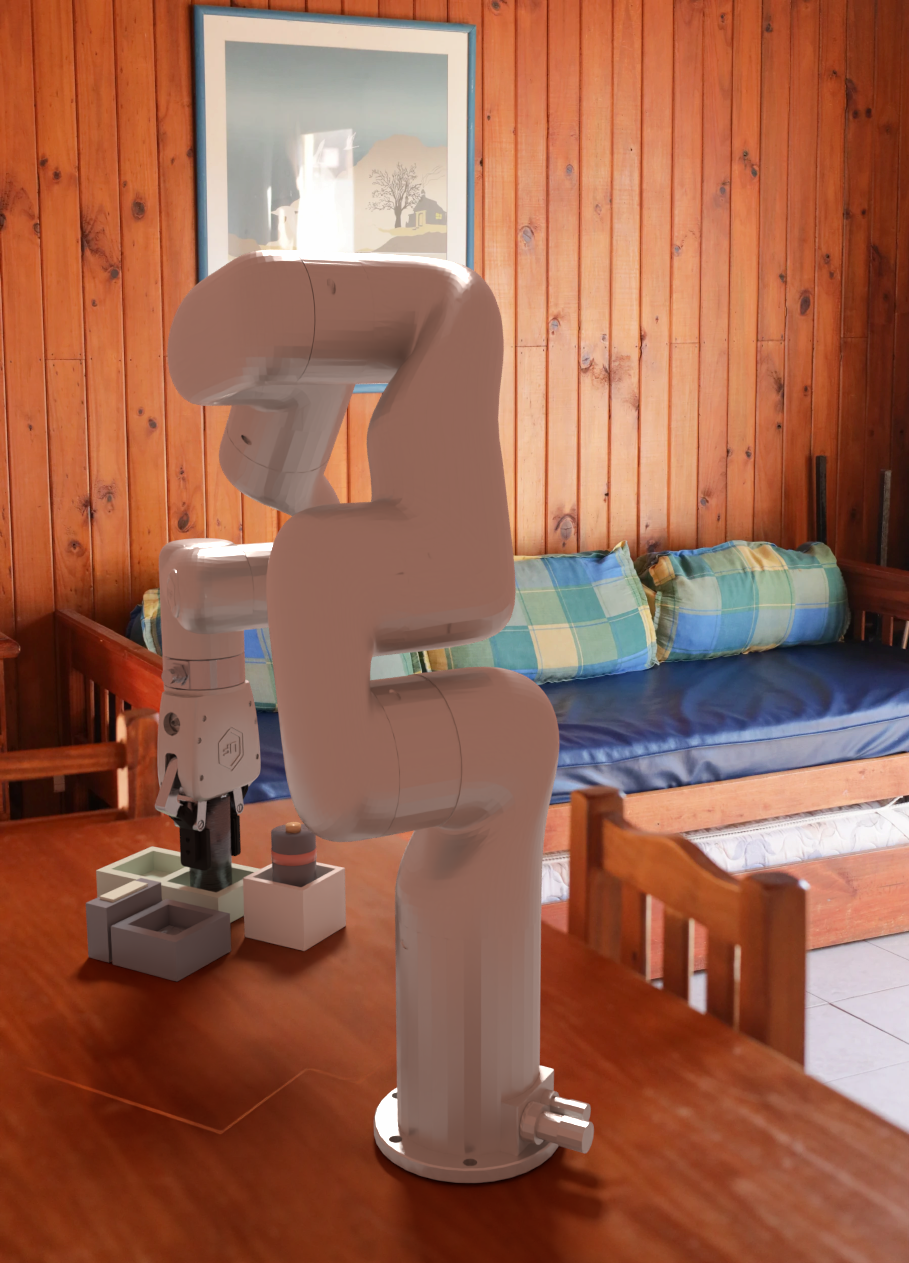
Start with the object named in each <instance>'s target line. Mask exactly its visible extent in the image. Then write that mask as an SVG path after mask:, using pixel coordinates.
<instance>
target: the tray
mask: <svg viewBox="0 0 909 1263" xmlns="http://www.w3.org/2000/svg"><path fill="white" fill-rule="evenodd" d="M260 869H261V868H257V867H252V866H248V865H244V864H238V863H235V862H232V885H230V886H228V887H226V888H224V889H222V890H220V891H218V892H212V891H207V890H203V889H198V888H194V887H190V872H189V867H185V866H183V865H182V864H181V857H180V851H176V850H172V849H167V848H164V847H163V848H162V847H157V846H149V847H147V848H146V849H145V848H144V849H142V850H139V851H138V852H135V853H133V854H131V855H129V856H127V857H123V858H122V859H119V860H117V861H115V862H112V863H110V864H108V865H105V866H103V867H101V868H99V869H96V870H95V876H96V898H98V897H100V896H101V895H103V894H106V893H108V892H110V891H112V890H114V889H117V888H119V887H121V886H123V885H125V884H128V883H130V882H132V881H135V880H137V879H140V878H144V879H148V880H153V881H157V882H161V890H162V901H163V900H165V899H170V900H174V901H178V902H183V903H187V904H191V905H196V906H200V907H204V908H209V909H213V910H217V911H222V912H226V913H230V924H231V923H233V922H234V921H236V920H238V919H240V918H242V917H244V896H243V878H244V877H246V876H248V875H250V874H252V873H254V872H256V871H258V870H260Z"/></svg>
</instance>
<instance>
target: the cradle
mask: <svg viewBox="0 0 909 1263" xmlns="http://www.w3.org/2000/svg"><path fill="white" fill-rule="evenodd" d="M85 918H86V920H85V921H86V933H87V934H86V935H87V937H86V938H87V950H88V951H87V953H88V954H87V955H88V956H87V957H88V958H90V959H94V960H98V961H101V962H104V963H105V962H106V963H108V964H109V963H112V965H113V966H117V967H122V968H124V969H128V970H133V971H136V972H139V973H143V974H147V975H151V976H155V977H159V978H161V979H166V980H170V981H173V982H176V983H177V982H179V981H181V980H183V979H184V978H187V977H188V976H189V975H192V974H193V973H195V972H197V971H199V970H200V969H202V968H203V967H205V966H207V965H209V964H211V963H212V962H215V961H216V960H217V959H218V960H219V958H221V957H223V956H225V955H227V954H228V953H230V952H232V938H231V937H232V936H231V923H230V913H226V912H222V911H217V910H213V909H209V908H204V907H200V906H196V905H191V904H187V903H183V902H178V901H174V900H170V899H165V900H163V901H162V890H161V882H157V881H153V880H148V879H144V878H140V879H137V880H135V881H132V882H130V883H128V884H125V885H123V886H121V887H119V888H117V889H114V890H112V891H110V892H108V893H106V894H103V895H101V896H100V897H98V898H97V897H95V898H94V899H91V900H89V901H87V902H85ZM169 925H170V926H175V927H179V928H183V929H186V930H184V931H182V932H180V933H179V934H177V935H175V936H173V935H169V934H165V933H161V932H157V931H159V930H161V929H163V928H165V927H167V926H169Z"/></svg>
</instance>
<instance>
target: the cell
mask: <svg viewBox="0 0 909 1263" xmlns="http://www.w3.org/2000/svg"><path fill="white" fill-rule="evenodd" d="M188 808H189V809H190V810H191V811H192V812H193V810H194V803H191V802H188ZM204 828H208V829H209V830H210V849H211V867H210V869H208V870H206V871H203V870H199V869H194V868H189V872H190V887H194V888H198V889H203V890H207V891H212V892H218V891H220V890H222V889H224V888H226V887H228V886H230V885H232V863H233V860H232V859H233V856H232V854H231V820H230V795H229V794H228V793H225V794H223V795H220V796H218V797H215V798H213V799H210V800H207V804H206V818H205V827H204Z"/></svg>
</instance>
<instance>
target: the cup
mask: <svg viewBox="0 0 909 1263" xmlns="http://www.w3.org/2000/svg"><path fill="white" fill-rule="evenodd" d="M270 839H271V842H270V844H271V848H270V857H271V858H270V859H271V863H270V864H268V865H266V866H264V867H261V868H259V869H260V870H258V871H256V872H254V873H252V874H250V875H248V876H246V877H244V878H243V896H244V916H243V918H244V919H243V923H244V926H243V927H244V938H248V939H253V940H256V941H260V942H265V943H268V944H269V943H270V944H274V945H278V946H282V947H286V948H291V949H293V950H294V949H295V950H298V951H302V952H305V951H307V950H308V949H310V948H312V947H313V946H316V945H317V944H319V943H320V942H322V941H323V940H325V939H327V938H328V937H330V936H331V935H333V934H335V933H336V932H338V931H339V930H342V929H343V928H344V927H347V912H346V910H347V909H346V908H347V907H346V904H347V903H346V868H345V867H341V866H337V865H332V864H328V863H322V862H318V861H317V858H318V855H317V852H318V851H317V848H318V847H317V836H316V835H315V834H313V833H312V832H311V831H310V830H309V829H308V828H307V827H306V826H305V825H304V823H301V822H298V821H291V822H286V823H285V824H282V825H278V826H276V827H273V828H272V829H271V831H270Z"/></svg>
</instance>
